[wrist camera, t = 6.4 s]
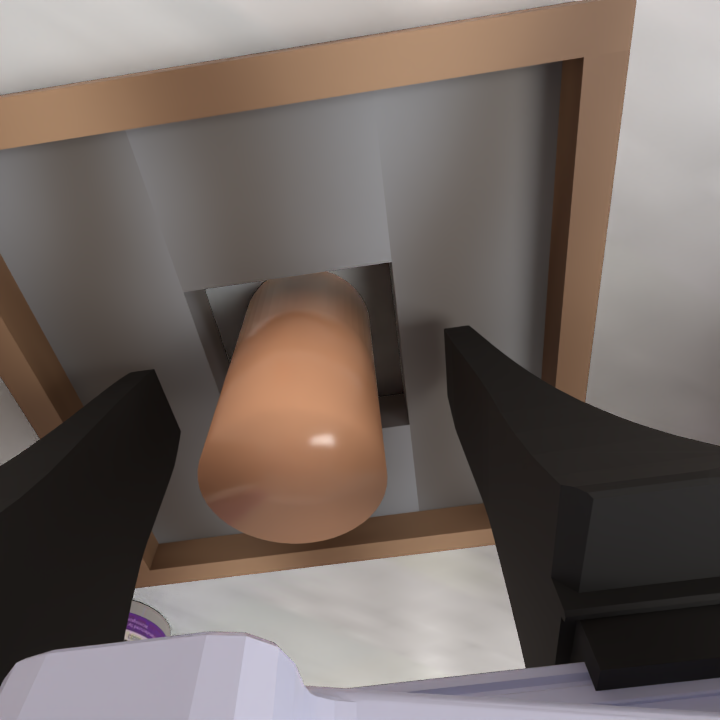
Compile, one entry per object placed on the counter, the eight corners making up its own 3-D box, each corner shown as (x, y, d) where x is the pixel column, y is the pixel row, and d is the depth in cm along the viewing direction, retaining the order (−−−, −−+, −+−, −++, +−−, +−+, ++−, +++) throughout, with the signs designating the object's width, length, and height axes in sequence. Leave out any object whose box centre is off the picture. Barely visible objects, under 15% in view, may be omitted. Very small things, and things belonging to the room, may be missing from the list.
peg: (368, 265, 14) (387, 403, 9) (370, 373, 16) (387, 538, 11) (236, 271, 14) (177, 413, 9) (255, 379, 16) (216, 548, 11)
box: (577, 1, 11) (637, -6, 9) (541, 477, 18) (567, 535, 16) (-67, 106, 11) (-160, 123, 9) (156, 525, 19) (134, 588, 17)
